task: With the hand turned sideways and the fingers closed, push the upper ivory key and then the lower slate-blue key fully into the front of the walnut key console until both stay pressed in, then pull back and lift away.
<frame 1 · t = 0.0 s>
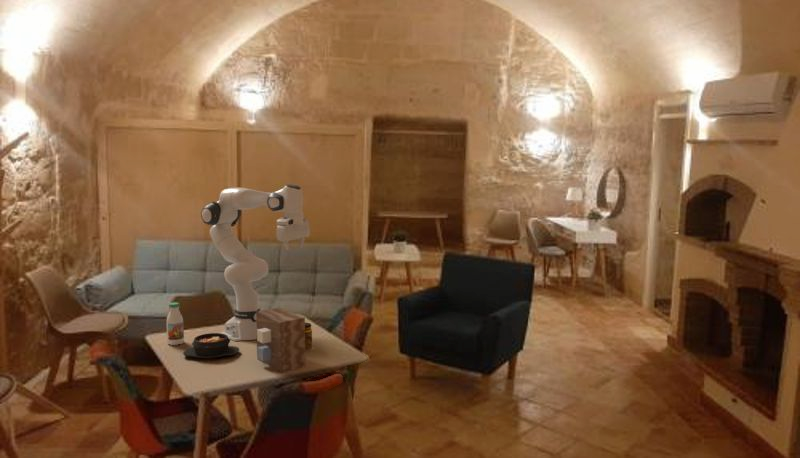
hand: (294, 248, 296), 48 cm above the table, tool pointing down, fingers open, 8 cm apart
condiment: (304, 349, 299), on the table
upper key: (265, 335, 273), point 14 cm above the table, slide at 0.0 cm
key console: (280, 362, 279), on the table
lower key: (265, 353, 274), point 6 cm above the table, slide at 0.0 cm
milk bottle: (175, 343, 305), on the table
casserole: (211, 355, 289), on the table
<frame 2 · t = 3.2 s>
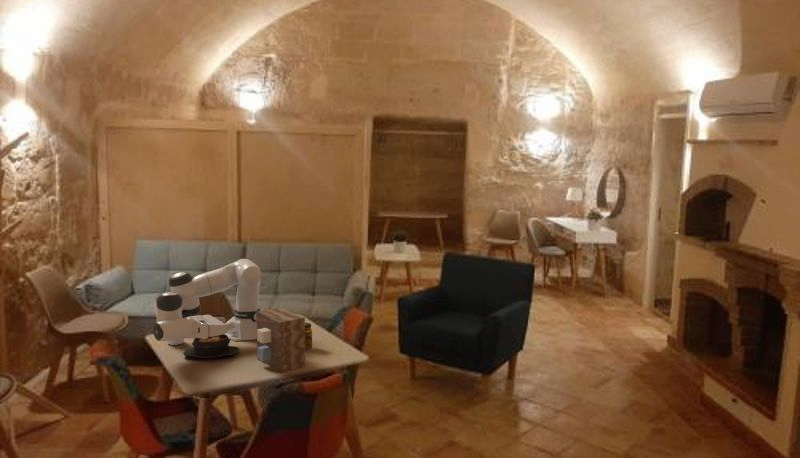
hand: (229, 322, 262), 23 cm above the table, tool horizontal, fingers open, 8 cm apart
nothing on the table moved.
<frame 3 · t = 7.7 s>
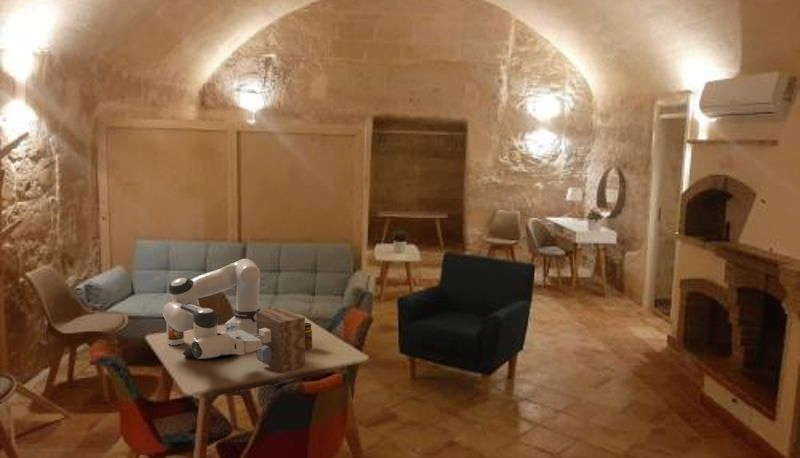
hand: (261, 336, 271), 14 cm above the table, tool horizontal, fingers closed, pressing on upper key
upper key: (266, 335, 273), point 14 cm above the table, slide at 0.9 cm, touching gripper
everything else where it was.
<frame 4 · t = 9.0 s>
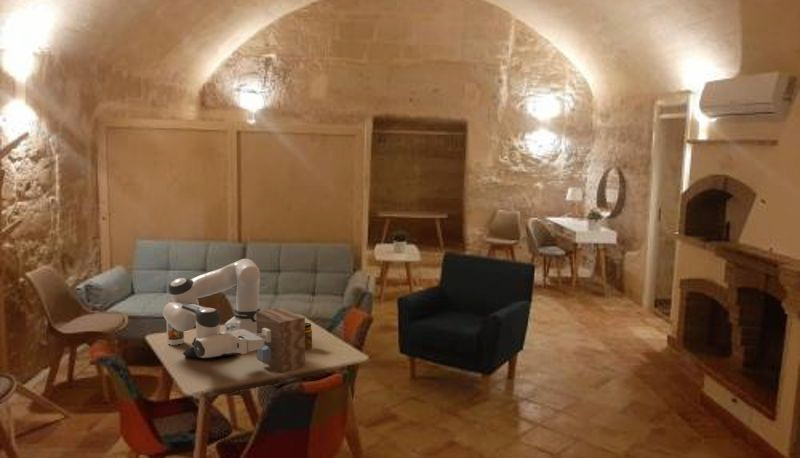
hand: (264, 335, 272), 14 cm above the table, tool horizontal, fingers closed
upper key: (269, 334, 274), point 14 cm above the table, slide at 2.3 cm
everything else where it was.
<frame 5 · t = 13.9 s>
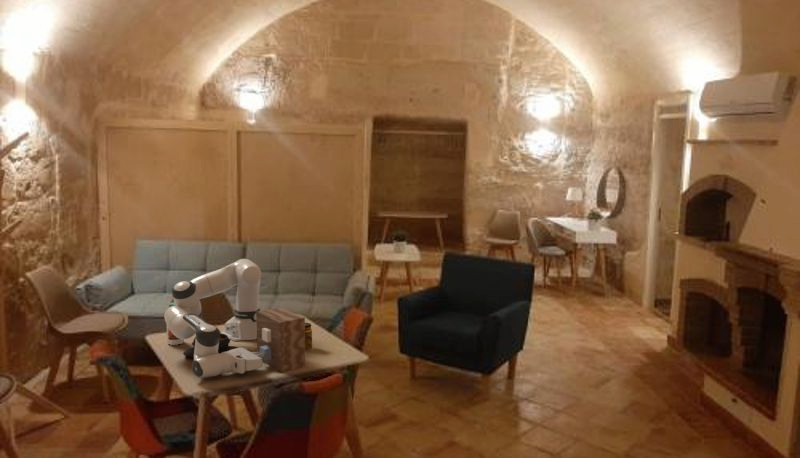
hand: (262, 354, 273), 6 cm above the table, tool horizontal, fingers closed, pressing on lower key
lower key: (267, 352, 274), point 6 cm above the table, slide at 0.9 cm, touching gripper
everything else where it was.
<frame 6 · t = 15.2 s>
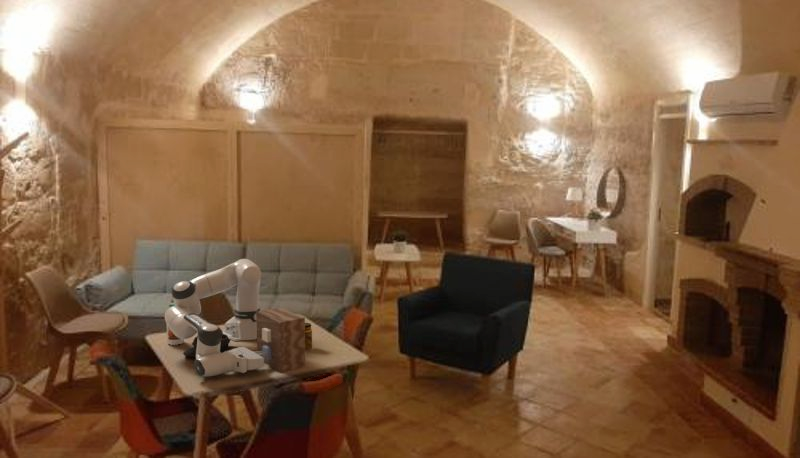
hand: (264, 353, 273), 6 cm above the table, tool horizontal, fingers closed
lower key: (270, 352, 275), point 6 cm above the table, slide at 2.3 cm
everything else where it was.
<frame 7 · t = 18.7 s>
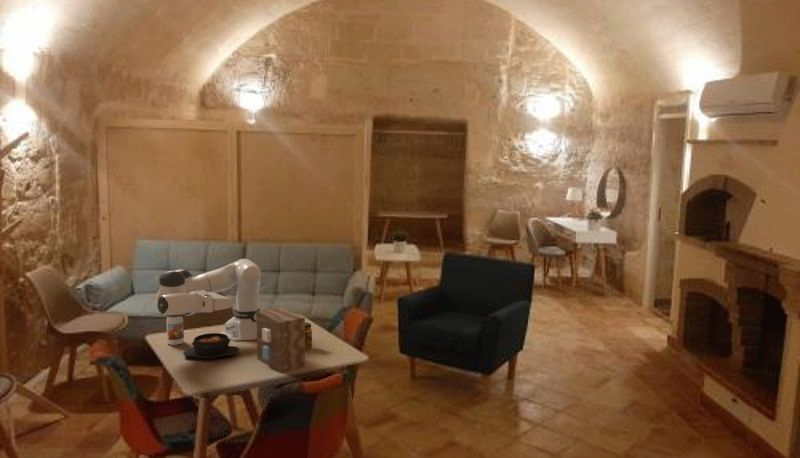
hand: (233, 298, 262), 32 cm above the table, tool horizontal, fingers closed
nothing on the table moved.
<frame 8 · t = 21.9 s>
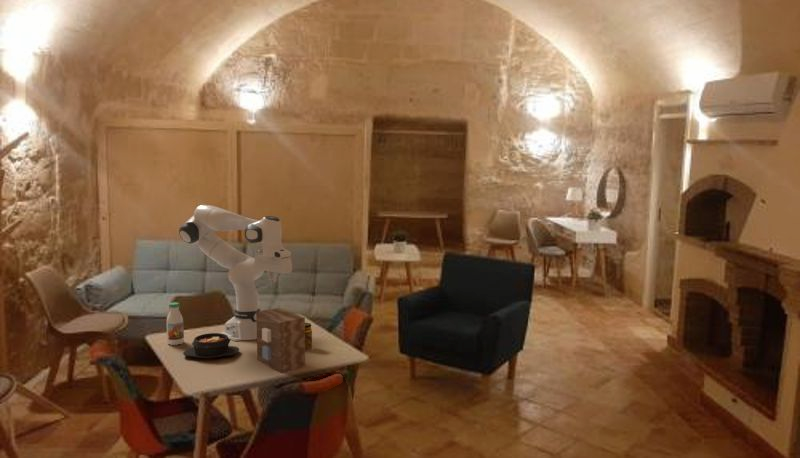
hand: (273, 281, 289), 34 cm above the table, tool pointing down, fingers closed
nothing on the table moved.
at the end: upper key slide at 2.3 cm; lower key slide at 2.3 cm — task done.
